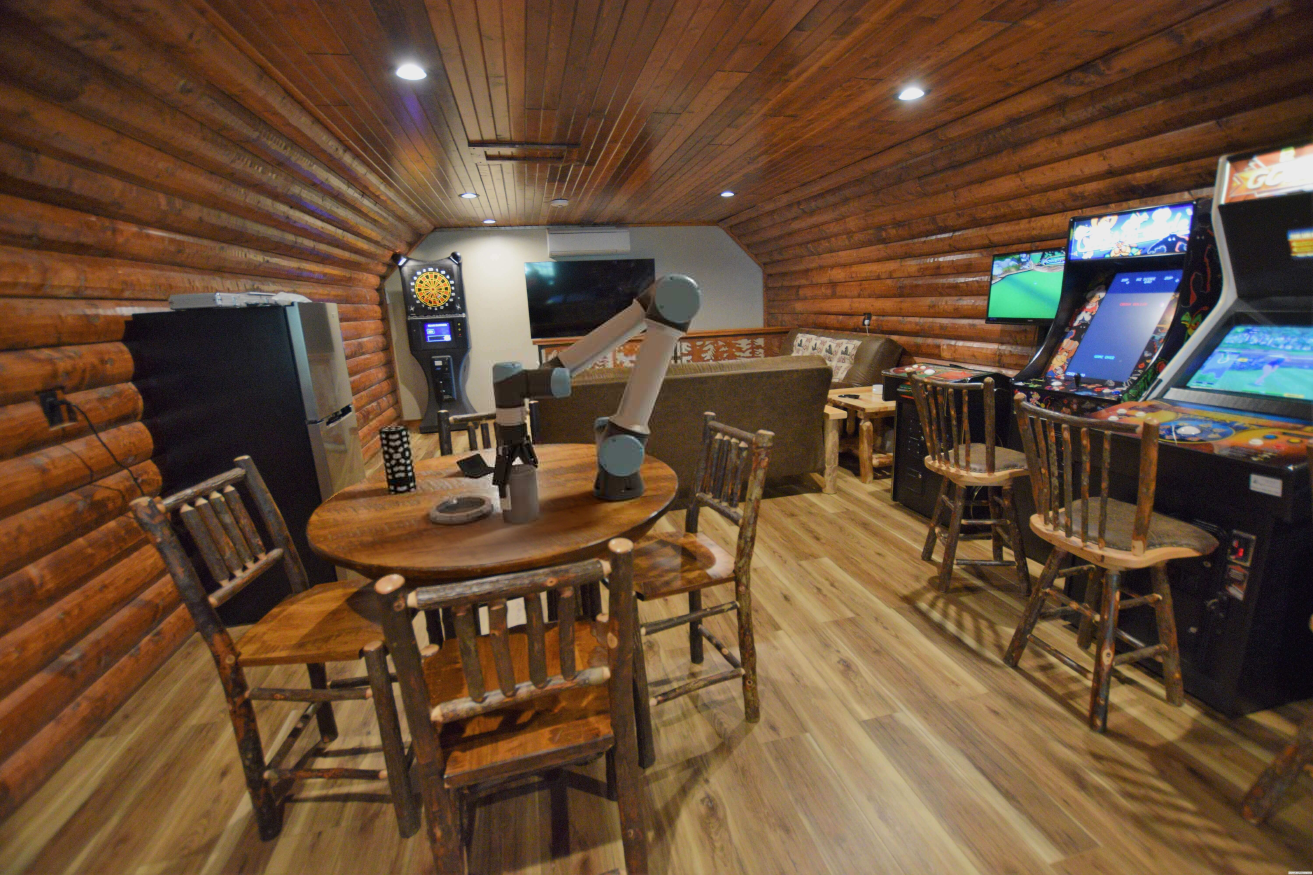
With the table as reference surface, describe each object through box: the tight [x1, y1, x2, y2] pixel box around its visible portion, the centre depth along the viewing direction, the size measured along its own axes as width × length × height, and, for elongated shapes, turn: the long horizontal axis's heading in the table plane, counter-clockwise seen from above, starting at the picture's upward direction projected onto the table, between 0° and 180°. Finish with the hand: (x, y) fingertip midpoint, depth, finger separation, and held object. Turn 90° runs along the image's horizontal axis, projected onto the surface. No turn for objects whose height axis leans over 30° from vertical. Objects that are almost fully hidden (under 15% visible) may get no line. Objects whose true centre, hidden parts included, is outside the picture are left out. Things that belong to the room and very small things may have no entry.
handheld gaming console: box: [455, 452, 494, 480], centre depth 198 cm, size 12×7×10 cm
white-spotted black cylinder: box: [378, 425, 418, 495], centre depth 181 cm, size 8×8×20 cm
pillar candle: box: [501, 463, 540, 525], centre depth 154 cm, size 10×10×15 cm
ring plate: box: [428, 494, 495, 526], centre depth 160 cm, size 17×17×2 cm
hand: (519, 500), depth 154 cm, fingers open, 13 cm apart
